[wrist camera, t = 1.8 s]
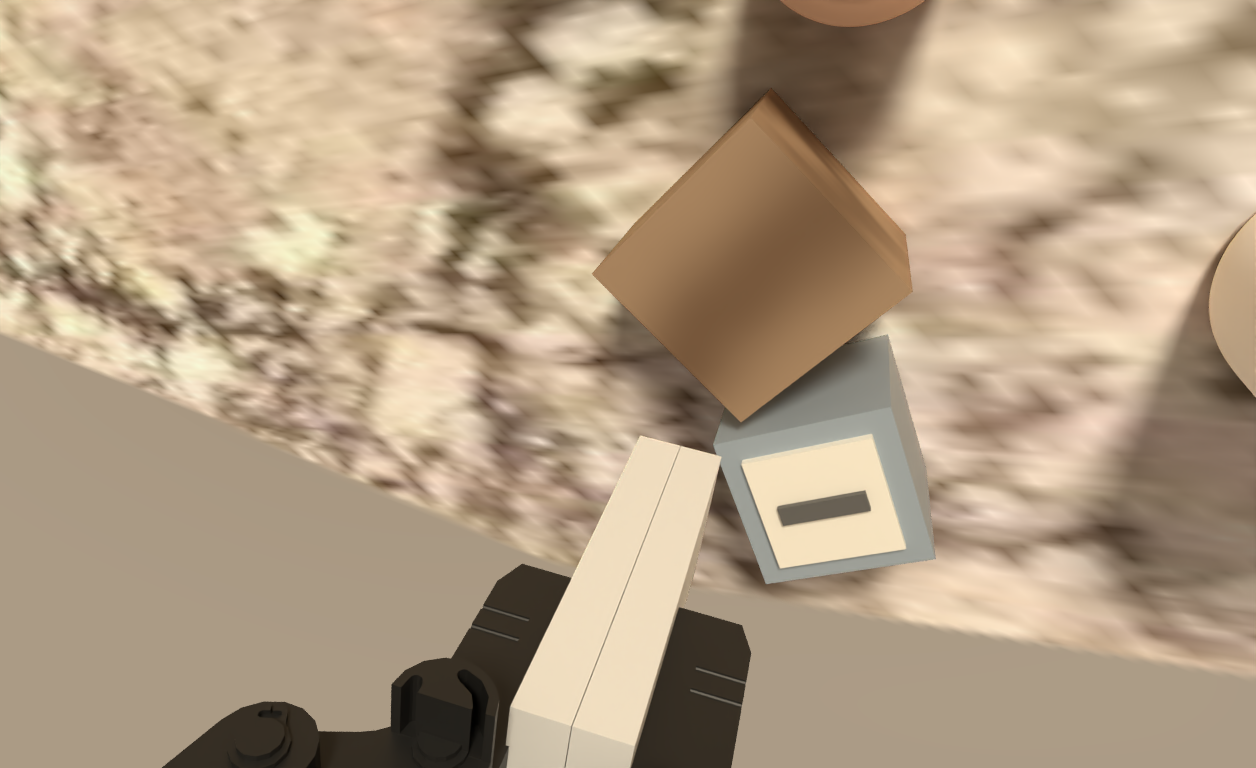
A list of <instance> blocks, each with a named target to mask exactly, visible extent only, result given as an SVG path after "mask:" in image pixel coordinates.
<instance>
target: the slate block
mask: <svg viewBox="0 0 1256 768" xmlns="http://www.w3.org/2000/svg"><path fill="white" fill-rule="evenodd" d="M713 446H714V449H715V451H716V454H717V456H721V457H722V458H721V462H720V465H721V467H722V470H723V472H724V475H725V478H726V480H727V483H728V486H729V488H730V491H731V493H732V496H733V499H734V501H735V504H736V507H737V509H738V512H739V514H740V517H741V520H742V522H743V525H744V528H745V530H746V533H747V535H748V538H749V541H750V543H751V546H752V549H753V551H754V554H755V556H756V559H757V562H758V564H759V567H760V570H761V572H762V575H763V577H764V580H765V583H766V584H770V583H777V582H784V581H791V580H798V579H804V578H811V577H818V576H825V575H832V574H838V573H845V572H852V571H859V570H865V569H872V568H879V567H886V566H893V565H899V564H906V563H913V562H920V561H926V560H933V559H936V557H935V548H934V538H933V529H932V519H931V510H930V500H929V490H928V481H927V471H926V466H925V462H924V459H923V455H922V452H921V448H920V445H919V441H918V438H917V435H916V431H915V428H914V424H913V421H912V417H911V414H910V410H909V407H908V403H907V400H906V396H905V393H904V389H903V386H902V382H901V379H900V375H899V372H898V368H897V365H896V361H895V358H894V354H893V351H892V347H891V344H890V340H889V337H888V335H884V336H880V337H875V338H871V339H867V340H863V341H859V342H855V343H851V344H847V345H843V346H841V347H839V348H838V349H837V350H835V351H834V352H833V353H831V354H830V355H829V356H828V357H826V358H825V359H824V360H822V361H821V362H820V363H818V364H817V365H816V366H814V367H813V368H812V369H810V370H809V371H808V372H807V373H805V374H804V375H803V376H801V377H800V378H799V379H797V380H796V381H795V382H793V383H792V384H791V385H789V386H788V387H787V388H786V389H784V390H783V391H782V392H780V393H779V394H778V395H776V396H775V397H774V398H772V399H771V400H770V401H769V402H767V403H766V404H765V405H763V406H762V407H761V408H759V409H758V410H757V411H755V412H754V413H753V414H751V415H750V416H749V417H748V418H746V419H745V420H744V421H742V422H740V421H739V420H738V419H737V418H736V417H735V416H734V415H733V414H732V413H731V412H730V411H729V410H728V409H727V408H726V407H725V409H724V412H723V415H722V418H721V421H720V425H719V428H718V431H717V434H716V437H715V440H714V443H713Z"/></svg>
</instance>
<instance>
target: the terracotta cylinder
mask: <svg viewBox="0 0 1256 768" xmlns="http://www.w3.org/2000/svg"><path fill="white" fill-rule="evenodd" d="M780 1H781V2H782V3H784V4H785V5H786V6H787V7H789V8H790V9H791V10H793V11H795V12H797V13H798V14H800V15H802V16H804V17H806V18H808V19H811V20H813V21H816V22H819V23H823V24H827V25H832V26H842V27H858V26H866V25H872V24H877V23H880V22H884V21H887V20H890V19H893V18H895V17H897V16H900V15H902V14H904V13H906V12H908V11H910V10H911V9H913V8H915V7H916V6H918V5H920V4H921V3H923V2H924V1H925V0H780Z"/></svg>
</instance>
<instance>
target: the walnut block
mask: <svg viewBox="0 0 1256 768" xmlns="http://www.w3.org/2000/svg"><path fill="white" fill-rule="evenodd" d="M592 275H593V276H594V277H595V278H596V279H597V280H598V281H599V282H600V283H601V284H602V285H603V286H604V287H605V288H606V289H607V290H608V291H609V292H610V293H611V294H612V295H613V296H614V297H615V298H616V299H617V300H618V301H619V302H621V303H622V304H623V305H624V306H625V307H626V308H627V309H628V310H629V311H630V312H631V313H632V314H633V315H634V316H635V317H636V318H637V319H638V320H639V321H640V322H641V323H642V324H643V325H644V326H645V327H646V328H647V329H648V330H649V331H650V332H651V333H652V334H653V335H654V336H655V337H656V338H657V339H658V340H659V341H660V342H661V343H662V344H663V345H664V346H665V347H666V348H667V349H668V350H669V351H670V352H671V353H672V354H673V355H674V356H675V357H676V358H677V359H678V360H679V361H680V362H681V363H682V364H683V365H684V366H685V367H686V368H687V369H688V370H689V371H690V372H691V373H692V374H693V375H694V376H695V377H696V378H697V379H698V380H699V381H700V382H701V383H702V384H703V385H704V386H705V387H706V388H707V389H708V390H709V391H710V392H711V393H712V394H713V395H714V396H715V397H716V398H717V399H718V400H719V401H720V402H721V403H722V404H723V405H724V406H725V407H726V408H727V409H728V410H729V411H730V412H731V413H732V414H733V415H734V416H735V417H736V418H737V419H738V420H739V421H740V422H742V421H744V420H745V419H746V418H748V417H749V416H750V415H751V414H753V413H754V412H755V411H757V410H758V409H759V408H761V407H762V406H763V405H765V404H766V403H767V402H769V401H770V400H771V399H772V398H774V397H775V396H776V395H778V394H779V393H780V392H782V391H783V390H784V389H786V388H787V387H788V386H789V385H791V384H792V383H793V382H795V381H796V380H797V379H799V378H800V377H801V376H803V375H804V374H805V373H807V372H808V371H809V370H810V369H812V368H813V367H814V366H816V365H817V364H818V363H820V362H821V361H822V360H824V359H825V358H826V357H828V356H829V355H830V354H831V353H833V352H834V351H835V350H837V349H838V348H839V347H841V346H842V345H843V344H845V343H846V342H847V341H849V340H850V339H851V338H852V337H854V336H855V335H856V334H858V333H859V332H860V331H862V330H863V329H864V328H866V327H867V326H868V325H869V324H871V323H872V322H873V321H875V320H876V319H877V318H879V317H880V316H881V315H883V314H884V313H885V312H887V311H888V310H889V309H890V308H892V307H893V306H894V305H896V304H897V303H898V302H900V301H901V300H902V299H904V298H905V297H906V296H908V295H909V294H910V293H911V292H913V291H912V282H911V274H910V266H909V258H908V250H907V242H906V234H905V233H904V232H903V231H902V230H901V229H900V228H899V227H898V226H897V225H896V223H895V222H894V221H893V220H892V219H891V218H890V217H889V216H888V215H887V214H886V213H885V211H884V210H883V209H882V208H881V207H880V206H879V205H878V204H877V203H876V202H875V201H874V200H873V198H872V197H871V196H870V195H869V194H868V193H867V192H866V191H865V190H864V189H863V188H862V186H861V185H860V184H859V183H858V182H857V181H856V180H855V179H854V178H853V177H852V176H851V174H850V173H849V172H848V171H847V170H846V169H845V168H844V167H843V166H842V165H841V164H840V162H839V161H838V160H837V159H836V158H835V157H834V156H833V155H832V154H831V153H830V152H829V150H828V149H827V148H826V147H825V146H824V145H823V144H822V143H821V142H820V141H819V140H818V138H817V137H816V136H815V135H814V134H813V133H812V132H811V131H810V130H809V129H808V128H807V126H806V125H805V124H804V123H803V122H802V121H801V120H800V119H799V118H798V117H797V116H796V114H795V113H794V112H793V111H792V110H791V109H790V108H789V107H788V106H787V105H786V104H785V102H784V101H783V100H782V99H781V98H780V97H779V96H778V95H777V94H776V93H775V92H774V90H773V89H772V88H771V89H770V90H769V91H768V92H767V93H766V94H765V95H764V96H763V97H762V98H761V99H760V100H759V101H758V102H757V103H756V104H755V105H754V106H753V107H752V108H751V109H750V110H749V111H748V112H747V113H746V114H745V115H744V116H743V117H742V118H741V119H739V120H738V121H737V122H736V123H735V124H734V125H733V126H732V127H731V128H730V129H729V130H728V131H727V132H726V133H725V134H724V135H723V136H722V137H721V138H720V139H719V140H718V141H717V142H716V143H715V144H714V145H713V146H712V147H711V148H710V149H709V150H708V151H707V152H706V153H705V154H704V155H703V156H702V157H701V158H700V159H699V160H698V161H697V162H696V163H695V164H694V165H693V166H692V167H691V168H690V169H689V170H688V171H687V172H686V173H685V174H684V175H683V176H682V177H681V178H680V179H679V180H678V181H677V182H676V183H675V184H674V185H673V186H672V187H671V188H670V189H669V190H668V191H667V192H666V193H665V194H664V195H663V196H662V197H661V198H660V199H659V200H658V201H657V202H656V203H655V204H654V205H653V206H652V207H651V208H650V209H649V210H648V211H647V212H646V213H645V214H644V215H643V216H642V217H641V218H640V219H639V220H638V221H637V222H636V223H635V224H634V225H633V226H632V227H631V228H630V230H629V231H628V232H627V233H626V234H625V235H624V237H623V238H622V239H621V240H620V241H619V243H618V244H617V245H616V246H615V247H614V248H613V250H612V251H611V252H610V253H609V254H608V255H607V257H606V258H605V259H604V260H603V261H602V263H601V264H600V265H599V266H598V267H597V268H596V270H595V271H594V272H593V273H592Z"/></svg>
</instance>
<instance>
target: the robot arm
mask: <svg viewBox="0 0 1256 768" xmlns="http://www.w3.org/2000/svg"><path fill="white" fill-rule="evenodd" d="M721 458H722V457H721V456H717V455H714V454H710V453H706V452H702V451H698V450H694V449H690V448H687V447H683V446H681V448H680V446H679V445H675V444H671V443H667V442H664V441H660V440H656V439H652V438H648V437H644V436H641V435H640V437H639V439H638V441H637V443H636V446H635V448H634V450H633V452H632V454H631V456H630V458H629V460H628V462H627V464H626V466H625V468H624V471H623V473H622V475H621V477H620V479H619V481H618V483H617V485H616V487H615V489H614V491H613V493H612V496H611V498H610V500H609V502H608V504H607V506H606V508H605V510H604V512H603V514H602V516H601V518H600V521H599V523H598V525H597V527H596V529H595V531H594V533H593V535H592V537H591V539H590V541H589V543H588V546H587V548H586V550H585V552H584V554H583V556H582V558H581V560H580V562H579V564H578V566H577V568H576V571H575V573H574V575H573V577H572V578H569V577H566V576H562V575H559V574H555V573H552V572H549V571H545V570H542V569H538V568H535V567H531V566H528V565H525V564H521V565H520V566H518V567H517V568H515V569H514V570H513V571H511V572H510V573H508V574H507V575H505V576H504V577H502V578H501V579H500V580H498V581H497V583H496V584H495V586H494V588H493V590H492V591H491V593H490V595H489V596H488V598H487V600H486V601H485V603H484V606H483V608H482V609H481V610H480V611H479V613H478V615H477V616H476V618H475V620H474V621H473V623H472V627H471V629H469V630H468V632H467V633H466V635H465V636H464V638H463V640H462V642H461V643H460V645H459V647H458V648H457V650H456V652H455V653H454V655H453V657H452V658H451V659H449V658H441V659H434V660H428V661H423V662H421V663H419V664H417V665H415V666H413V667H411V668H409V669H407V670H405V671H404V672H403V673H402V674H401V675H400V676H399V678H397V679H396V680H395V681H394V683H393V684H392V690H391V727H388V728H384V729H380V730H376V731H366V732H325V731H323V732H321V731H318V729H317V725H316V722H315V720H314V719H313V718H312V717H311V716H310V715H309V714H308V713H307V712H306V711H305V710H304V709H303V708H300V707H297V706H294V705H292V704H289V703H286V702H261V703H257V704H253V705H250V706H246V707H243V708H240V709H239V710H237V711H235V712H234V713H232V714H230V715H228V716H227V717H225V718H223V719H222V720H221V721H219V722H218V723H217V724H215V725H214V726H213V727H212V728H210V729H209V730H208V731H207V732H206V733H205V734H203V735H202V736H201V737H199V738H198V739H197V740H196V741H194V742H193V743H192V744H191V745H189V746H188V747H187V748H186V749H185V750H183V751H182V752H181V753H180V754H178V755H177V756H176V757H175V758H173V759H172V760H171V761H170V762H168V763H167V764H166V765H165V766H163V767H162V768H731V765H732V759H733V754H734V748H735V742H736V736H737V731H738V725H739V720H740V714H741V707H742V702H743V697H744V690H745V684H746V680H747V674H748V668H749V662H750V657H751V651H750V648H749V645H748V642H747V639H746V636H745V633H744V630H743V627H742V625H739V624H736V623H732V622H728V621H725V620H721V619H718V618H714V617H712V616H708V615H704V614H701V613H698V612H694V611H691V610H687V609H684V607H685V604H686V600H687V596H688V593H689V590H690V586H691V583H692V579H693V576H694V572H695V568H696V564H697V560H698V555H699V551H700V547H701V543H702V538H703V534H704V530H705V526H706V521H707V517H708V513H709V509H710V504H711V500H712V496H713V492H714V487H715V483H716V479H717V475H718V470H719V466H720V462H721Z"/></svg>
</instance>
